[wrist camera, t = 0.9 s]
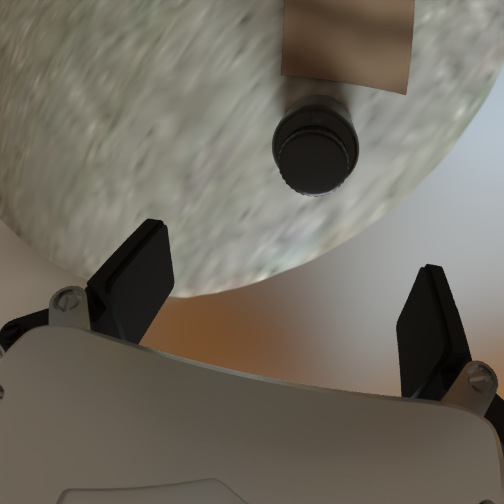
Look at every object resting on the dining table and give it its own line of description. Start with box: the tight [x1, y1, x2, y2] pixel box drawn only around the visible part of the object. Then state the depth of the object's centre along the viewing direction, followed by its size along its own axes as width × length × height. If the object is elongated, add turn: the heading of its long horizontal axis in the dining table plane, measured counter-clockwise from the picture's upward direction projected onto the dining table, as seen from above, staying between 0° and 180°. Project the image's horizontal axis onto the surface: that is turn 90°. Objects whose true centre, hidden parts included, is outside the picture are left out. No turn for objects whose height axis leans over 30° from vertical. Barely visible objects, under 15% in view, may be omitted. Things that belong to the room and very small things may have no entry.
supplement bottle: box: [272, 95, 359, 197], centre depth 25 cm, size 7×7×12 cm
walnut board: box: [281, 0, 415, 95], centre depth 22 cm, size 14×12×1 cm
